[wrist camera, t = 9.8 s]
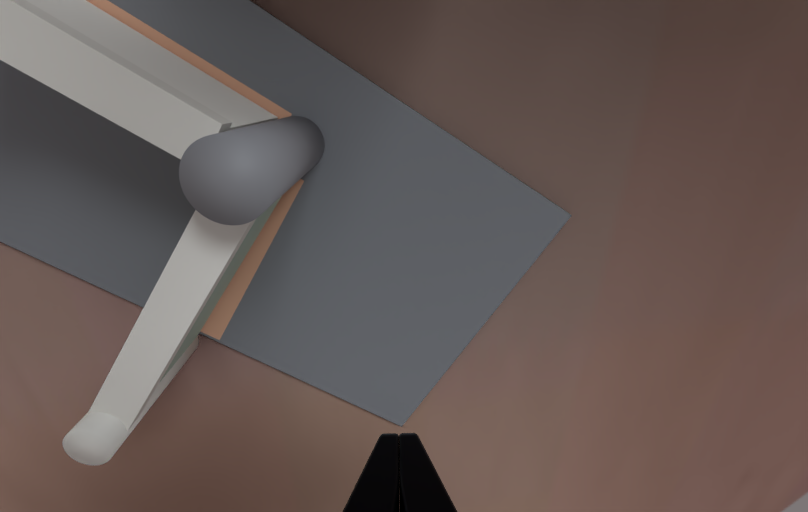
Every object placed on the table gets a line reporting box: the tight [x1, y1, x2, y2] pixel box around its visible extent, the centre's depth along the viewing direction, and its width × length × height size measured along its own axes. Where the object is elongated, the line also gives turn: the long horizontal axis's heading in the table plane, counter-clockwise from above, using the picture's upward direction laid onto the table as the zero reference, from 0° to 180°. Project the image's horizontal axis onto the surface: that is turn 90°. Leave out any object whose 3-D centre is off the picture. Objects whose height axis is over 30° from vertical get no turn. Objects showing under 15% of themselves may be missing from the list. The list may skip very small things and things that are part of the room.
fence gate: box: [62, 196, 282, 465], centre depth 17 cm, size 12×2×7 cm, turn 145°
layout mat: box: [0, 0, 572, 427], centre depth 20 cm, size 16×26×1 cm, turn 58°
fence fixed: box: [0, 0, 325, 225], centre depth 13 cm, size 2×14×8 cm, turn 58°
